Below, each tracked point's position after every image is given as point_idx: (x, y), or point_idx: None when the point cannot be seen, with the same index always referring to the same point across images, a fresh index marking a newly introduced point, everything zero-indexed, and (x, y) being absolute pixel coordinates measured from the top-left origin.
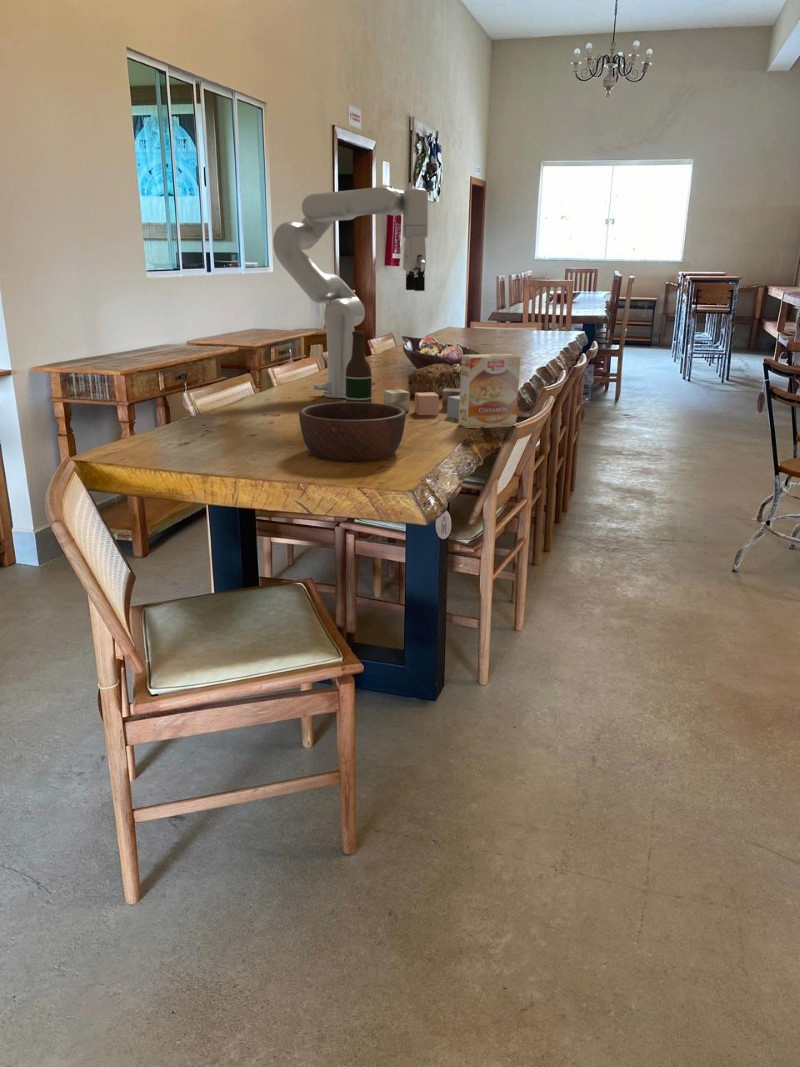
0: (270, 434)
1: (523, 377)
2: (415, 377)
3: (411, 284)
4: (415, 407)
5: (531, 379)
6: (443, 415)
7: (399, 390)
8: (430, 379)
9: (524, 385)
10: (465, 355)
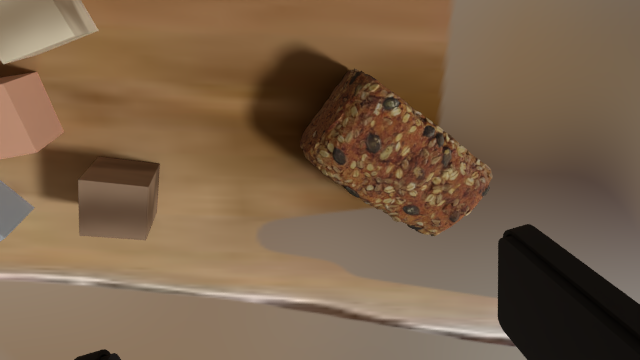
0: None
1: None
2: (345, 100)
3: (541, 331)
4: (13, 77)
5: None
6: None
7: (45, 24)
8: (309, 149)
9: (490, 339)
10: None
